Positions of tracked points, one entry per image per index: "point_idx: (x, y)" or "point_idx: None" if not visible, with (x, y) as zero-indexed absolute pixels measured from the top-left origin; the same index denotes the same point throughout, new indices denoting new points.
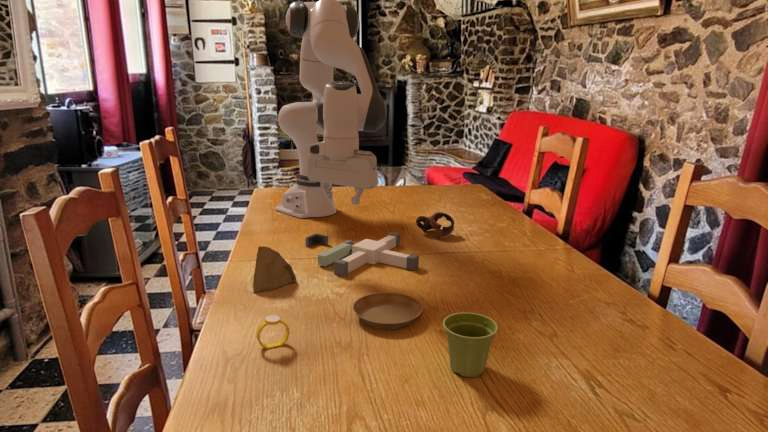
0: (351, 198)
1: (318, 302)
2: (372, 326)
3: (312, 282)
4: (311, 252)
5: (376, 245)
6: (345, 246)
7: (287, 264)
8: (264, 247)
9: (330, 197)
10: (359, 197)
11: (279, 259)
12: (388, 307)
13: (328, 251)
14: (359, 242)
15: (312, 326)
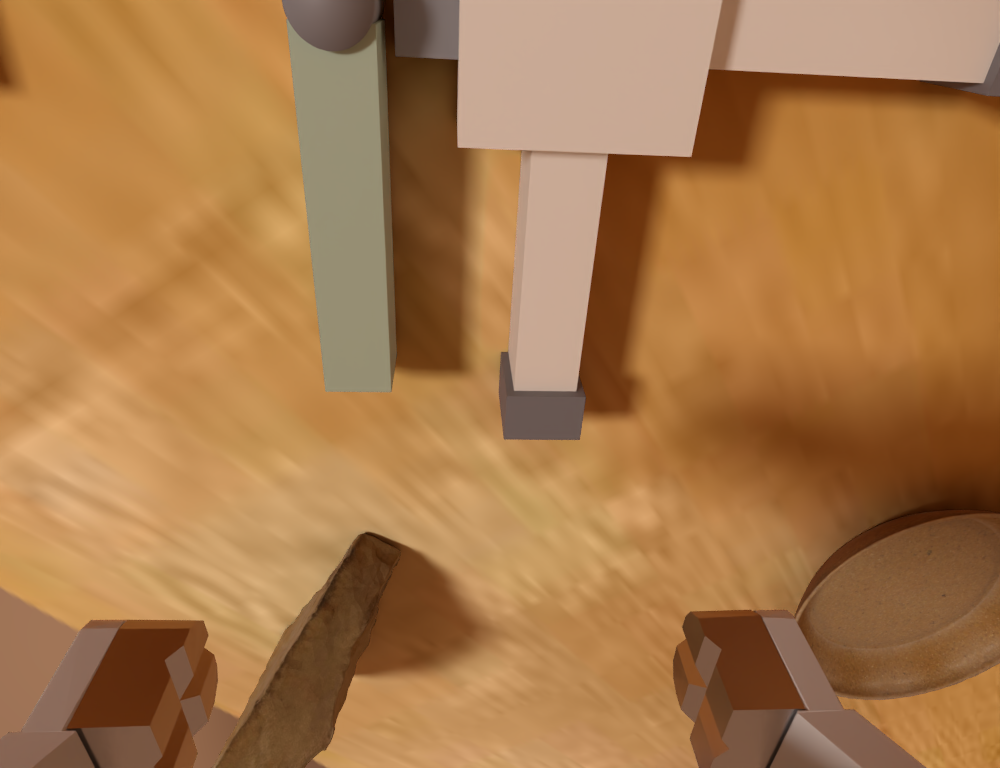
0: (703, 763)
1: (607, 618)
2: (867, 650)
3: (466, 514)
4: (85, 163)
5: (666, 10)
6: (377, 129)
7: (354, 639)
8: None
9: (190, 676)
10: (833, 702)
11: (337, 703)
12: (895, 539)
13: (341, 305)
14: (469, 21)
15: (676, 713)
